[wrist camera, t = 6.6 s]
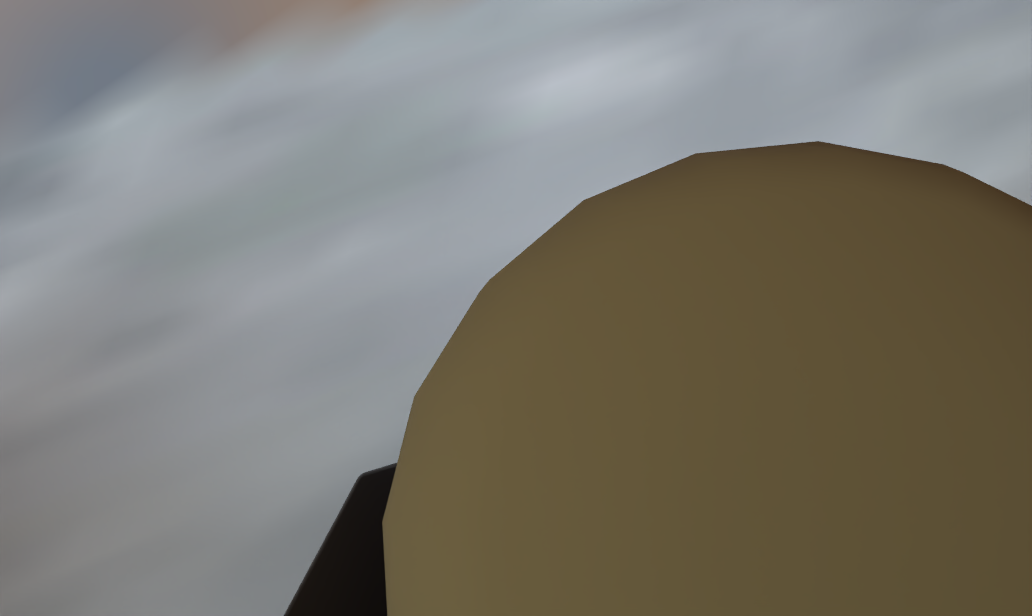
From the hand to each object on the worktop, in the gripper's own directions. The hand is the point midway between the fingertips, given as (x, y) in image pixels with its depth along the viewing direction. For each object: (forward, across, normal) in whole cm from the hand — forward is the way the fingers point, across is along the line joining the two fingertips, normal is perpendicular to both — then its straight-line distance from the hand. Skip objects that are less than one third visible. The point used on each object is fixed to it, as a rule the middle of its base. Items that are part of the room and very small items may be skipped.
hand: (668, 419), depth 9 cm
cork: (+4, 0, +6) cm, 7 cm away
